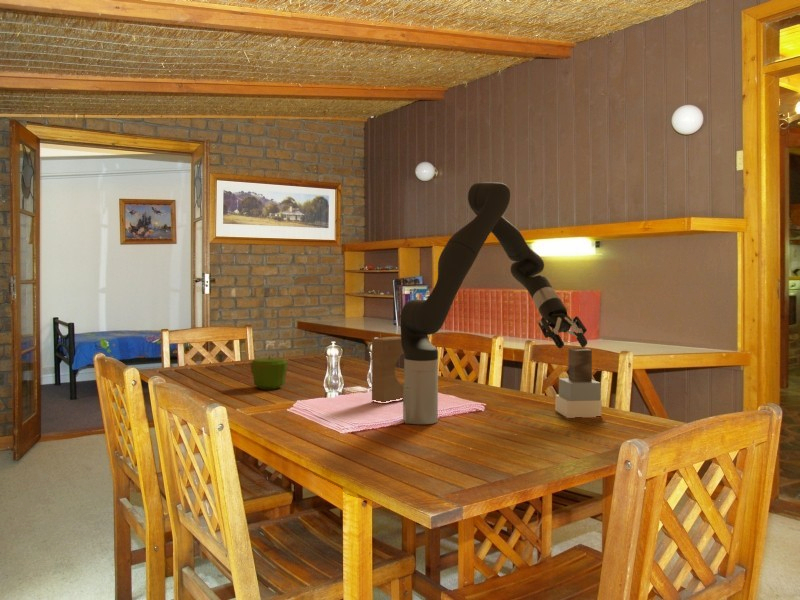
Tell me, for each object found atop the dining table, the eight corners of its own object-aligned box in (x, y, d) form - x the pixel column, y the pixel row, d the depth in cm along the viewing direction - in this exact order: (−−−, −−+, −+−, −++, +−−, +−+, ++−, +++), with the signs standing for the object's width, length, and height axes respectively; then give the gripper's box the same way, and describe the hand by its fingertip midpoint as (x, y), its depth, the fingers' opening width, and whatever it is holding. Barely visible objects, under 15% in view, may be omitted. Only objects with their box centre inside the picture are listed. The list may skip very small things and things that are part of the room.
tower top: (570, 401, 190) (570, 383, 190) (558, 395, 199) (558, 378, 199) (600, 400, 191) (600, 382, 191) (587, 394, 200) (588, 377, 200)
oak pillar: (575, 382, 193) (574, 350, 192) (568, 379, 197) (568, 348, 197) (591, 381, 193) (591, 350, 193) (584, 378, 198) (584, 348, 198)
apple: (292, 385, 241) (292, 354, 241) (278, 391, 230) (278, 358, 229) (260, 384, 244) (260, 353, 244) (245, 390, 232) (244, 357, 232)
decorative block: (395, 397, 220) (395, 336, 219) (408, 399, 216) (408, 337, 215) (370, 401, 212) (370, 338, 211) (383, 404, 208) (383, 339, 207)
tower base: (567, 418, 190) (567, 401, 190) (555, 411, 200) (555, 394, 200) (601, 418, 191) (601, 400, 191) (587, 410, 201) (588, 394, 201)
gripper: (535, 297, 202) (560, 338, 192) (573, 296, 208) (598, 337, 198) (525, 313, 207) (548, 355, 197) (562, 312, 213) (586, 353, 203)
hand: (573, 346), depth 197 cm, fingers open, 8 cm apart
